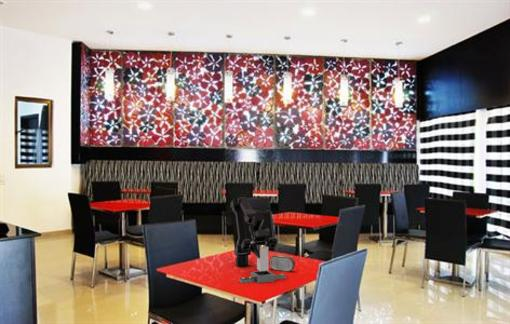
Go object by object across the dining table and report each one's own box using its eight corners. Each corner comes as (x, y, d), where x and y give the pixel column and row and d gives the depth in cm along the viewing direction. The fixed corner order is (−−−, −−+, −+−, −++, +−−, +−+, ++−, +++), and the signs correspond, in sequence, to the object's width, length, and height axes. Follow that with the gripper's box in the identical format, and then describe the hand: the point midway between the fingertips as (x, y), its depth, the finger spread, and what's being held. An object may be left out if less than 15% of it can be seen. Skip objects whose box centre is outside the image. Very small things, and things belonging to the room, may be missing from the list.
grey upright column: (257, 269, 229) (257, 244, 229) (265, 268, 231) (265, 244, 231) (260, 271, 225) (260, 246, 225) (268, 270, 227) (268, 245, 227)
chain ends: (237, 279, 228) (237, 272, 228) (280, 275, 236) (280, 269, 236) (243, 284, 219) (243, 277, 219) (287, 280, 228) (287, 273, 228)
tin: (295, 271, 245) (295, 256, 245) (293, 272, 242) (293, 257, 242) (270, 268, 252) (270, 253, 252) (268, 270, 249) (268, 255, 249)
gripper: (242, 224, 228) (250, 249, 218) (276, 222, 235) (284, 247, 224) (238, 236, 236) (244, 262, 226) (270, 234, 242) (278, 259, 232)
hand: (263, 257), depth 227 cm, fingers closed on grey upright column, 4 cm apart
